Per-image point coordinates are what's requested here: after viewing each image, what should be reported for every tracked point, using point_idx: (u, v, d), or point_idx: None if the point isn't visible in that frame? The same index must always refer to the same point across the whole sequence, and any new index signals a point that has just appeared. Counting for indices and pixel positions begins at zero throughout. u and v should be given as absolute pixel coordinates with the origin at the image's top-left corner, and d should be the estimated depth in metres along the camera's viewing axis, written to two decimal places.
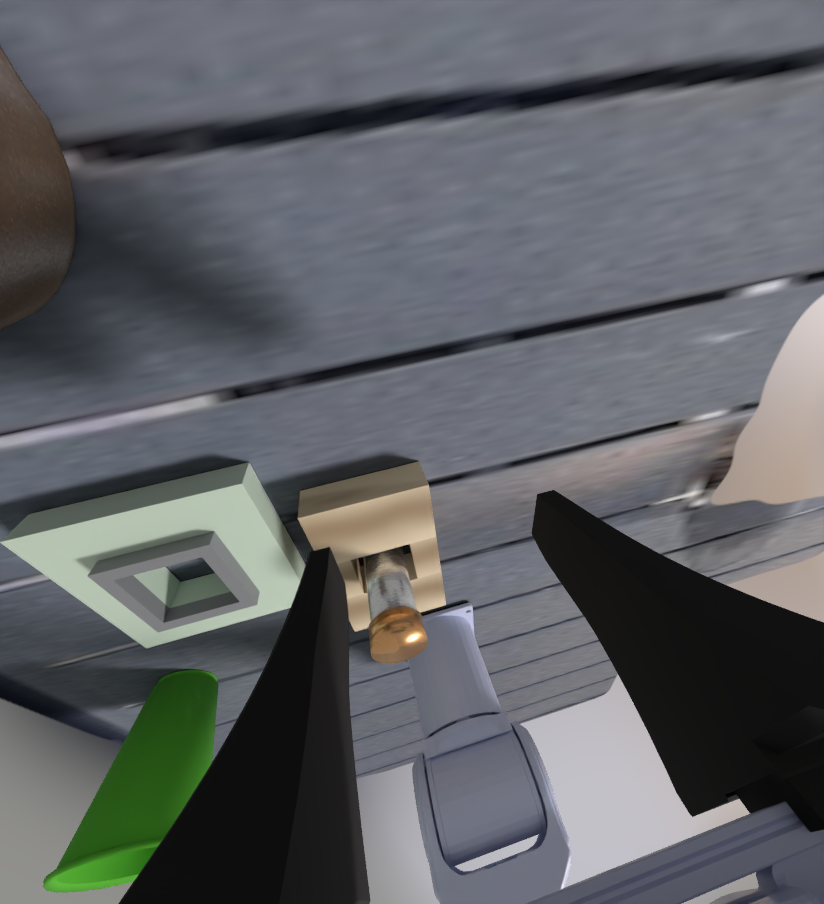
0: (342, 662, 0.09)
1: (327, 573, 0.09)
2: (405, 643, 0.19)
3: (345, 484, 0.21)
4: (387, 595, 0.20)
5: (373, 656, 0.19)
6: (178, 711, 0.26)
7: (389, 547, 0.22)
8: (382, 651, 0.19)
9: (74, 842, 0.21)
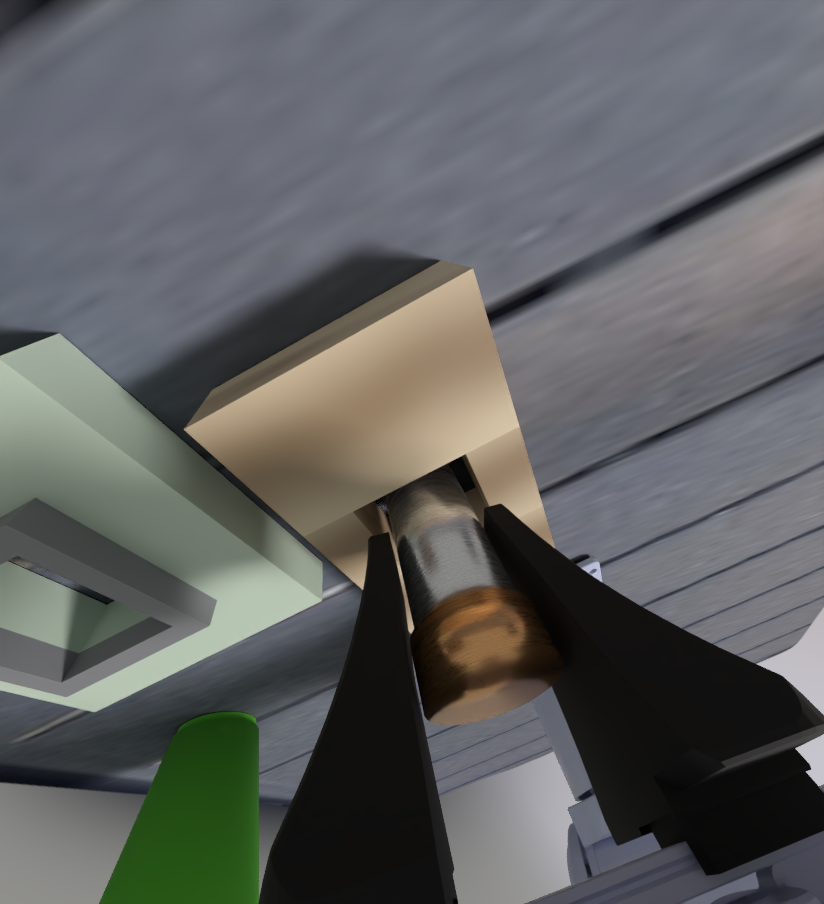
0: (408, 643, 0.09)
1: (393, 556, 0.09)
2: (508, 679, 0.07)
3: (291, 348, 0.10)
4: (439, 567, 0.09)
5: (433, 719, 0.08)
6: (192, 781, 0.18)
7: (424, 469, 0.10)
8: (452, 706, 0.07)
9: None
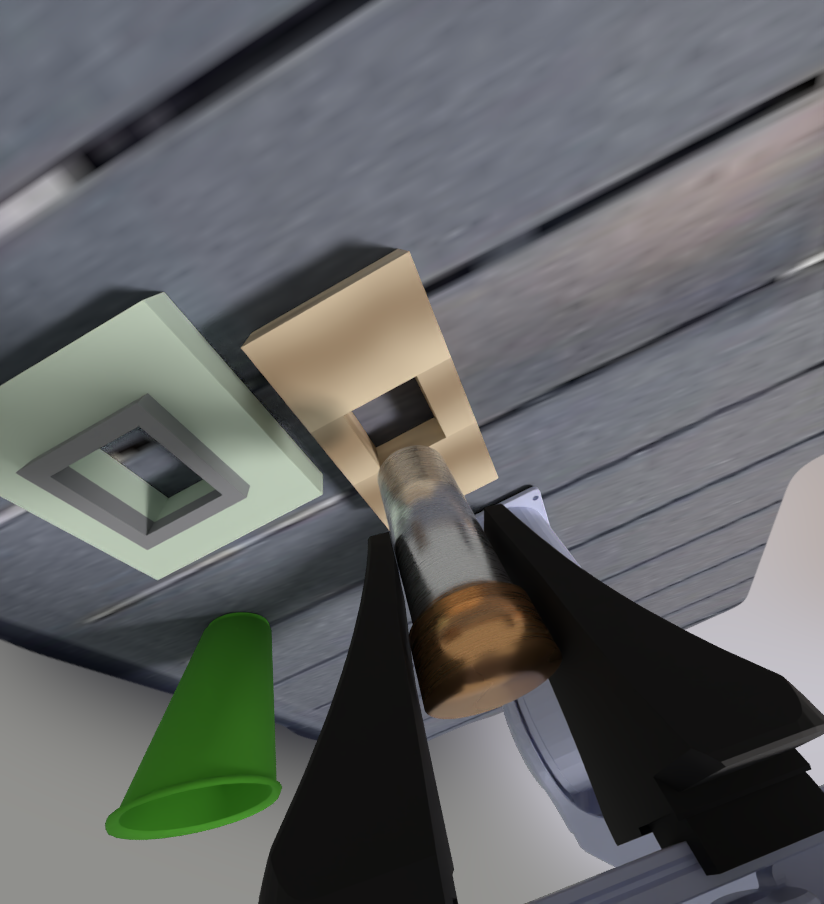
0: (408, 643, 0.09)
1: (393, 556, 0.09)
2: (507, 671, 0.07)
3: (303, 304, 0.15)
4: (436, 563, 0.09)
5: (434, 713, 0.08)
6: (223, 651, 0.24)
7: (389, 386, 0.16)
8: (452, 700, 0.07)
9: None
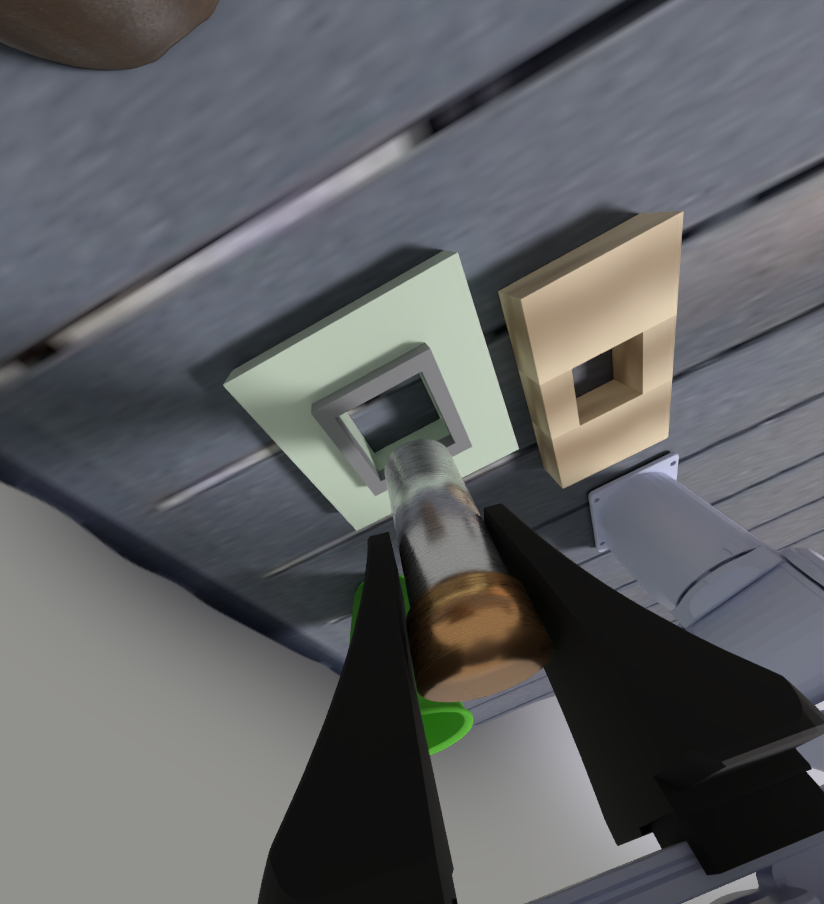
0: (408, 643, 0.09)
1: (392, 556, 0.09)
2: (498, 658, 0.07)
3: (553, 264, 0.17)
4: (434, 552, 0.09)
5: (426, 695, 0.08)
6: None
7: (618, 341, 0.18)
8: (444, 683, 0.08)
9: None
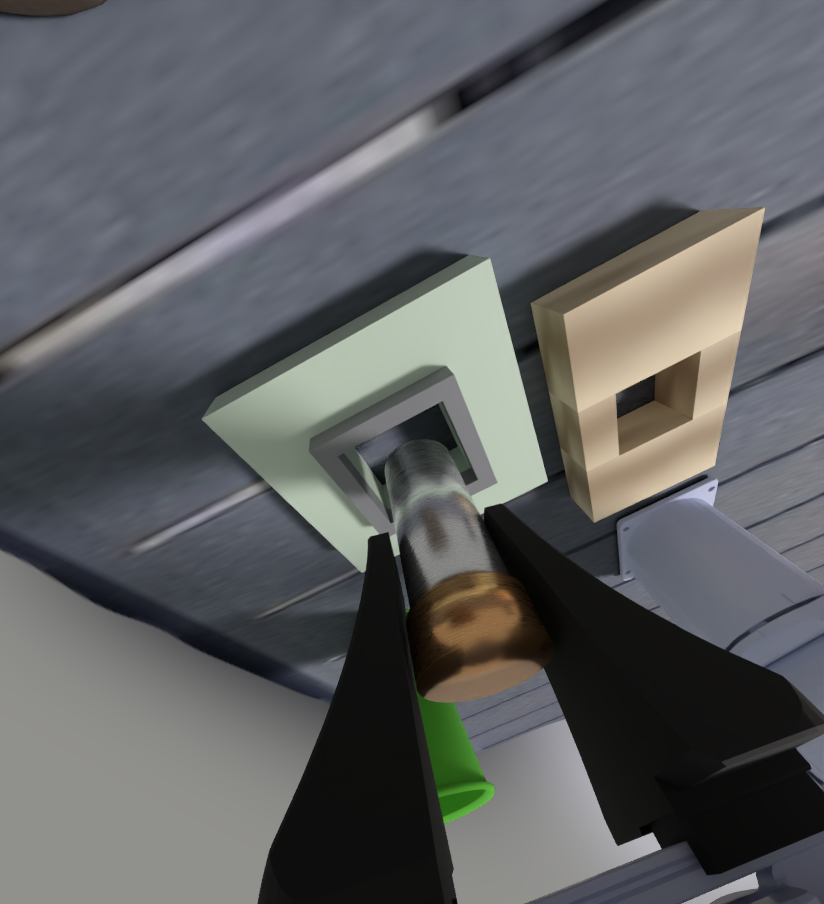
0: (408, 643, 0.09)
1: (392, 556, 0.09)
2: (498, 659, 0.07)
3: (598, 271, 0.14)
4: (434, 552, 0.09)
5: (426, 695, 0.08)
6: None
7: (672, 361, 0.15)
8: (444, 683, 0.08)
9: None
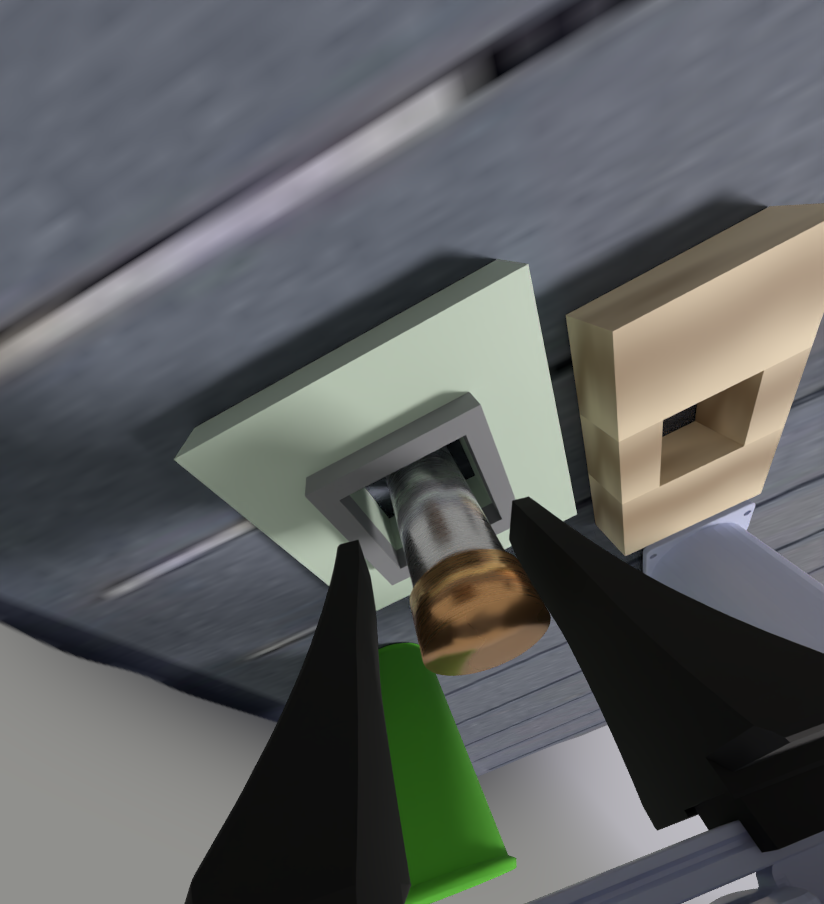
0: (374, 653, 0.09)
1: (359, 565, 0.09)
2: (499, 628, 0.08)
3: (647, 277, 0.12)
4: (436, 534, 0.09)
5: (431, 667, 0.08)
6: (408, 693, 0.20)
7: (730, 383, 0.13)
8: (448, 654, 0.08)
9: None
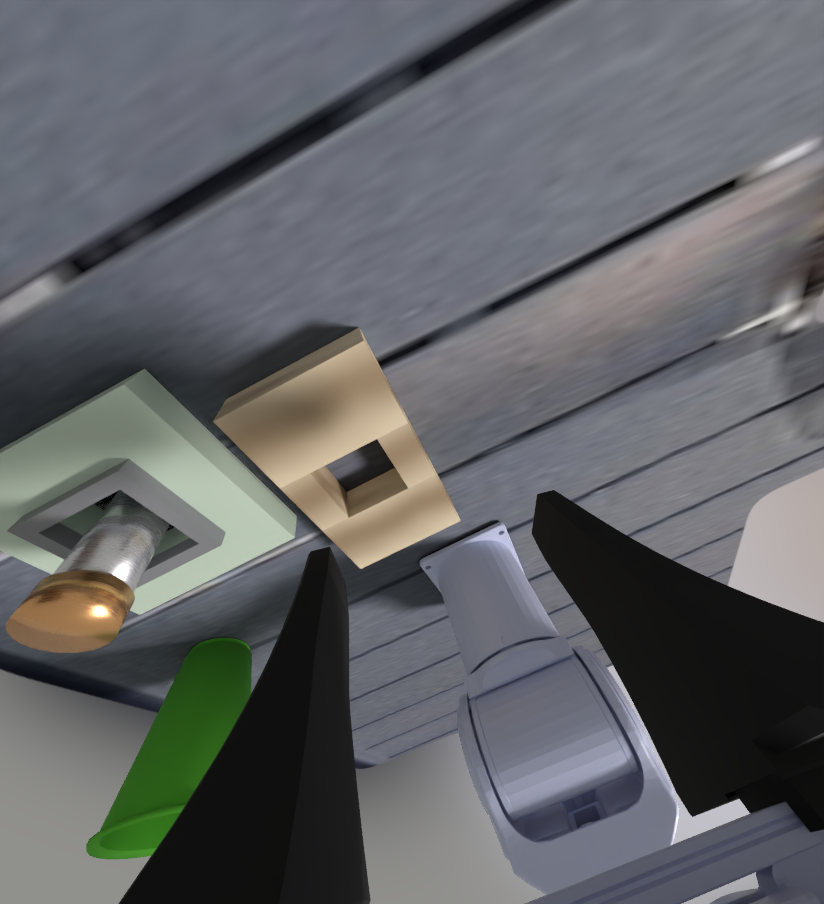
0: (342, 662, 0.09)
1: (327, 573, 0.09)
2: (62, 621, 0.13)
3: (273, 376, 0.17)
4: (66, 559, 0.14)
5: (32, 646, 0.13)
6: (203, 678, 0.25)
7: (352, 447, 0.18)
8: (37, 638, 0.13)
9: None
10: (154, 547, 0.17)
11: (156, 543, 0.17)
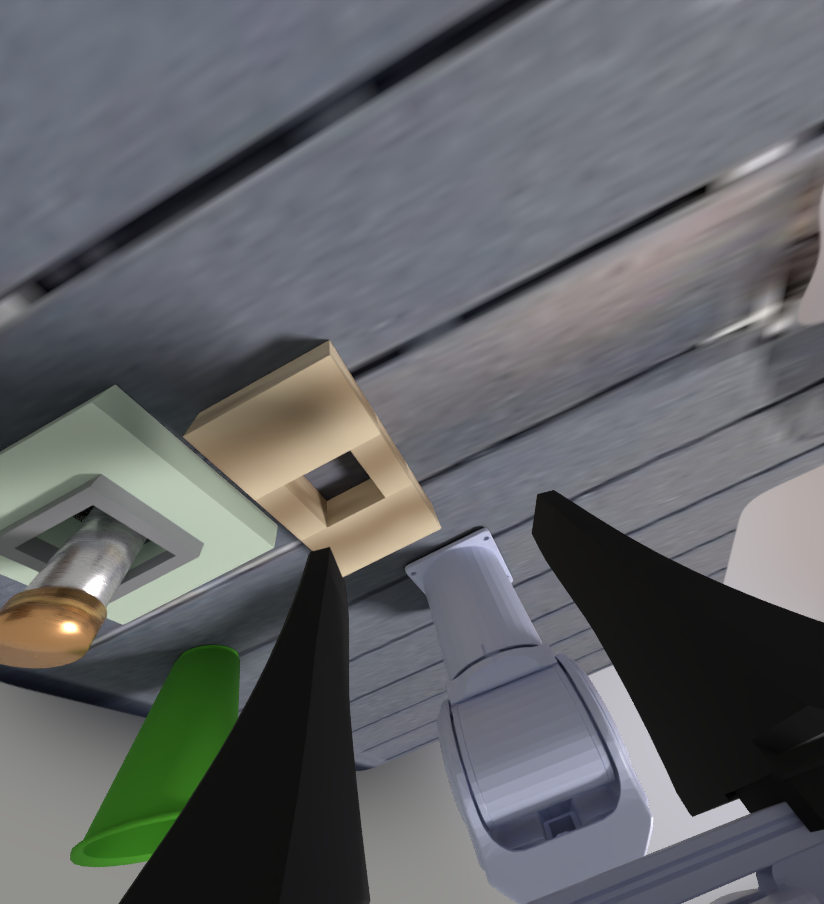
0: (342, 662, 0.09)
1: (327, 573, 0.09)
2: (31, 638, 0.13)
3: (244, 390, 0.17)
4: (38, 575, 0.14)
5: (3, 662, 0.13)
6: (189, 686, 0.25)
7: (325, 459, 0.18)
8: (6, 654, 0.13)
9: (93, 820, 0.20)
10: (129, 560, 0.17)
11: (132, 556, 0.17)
